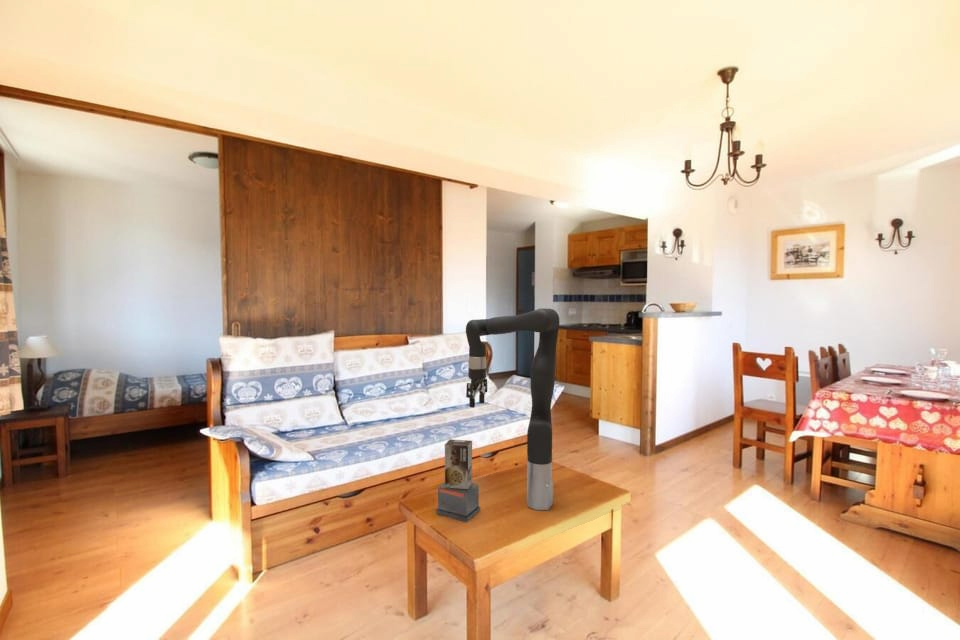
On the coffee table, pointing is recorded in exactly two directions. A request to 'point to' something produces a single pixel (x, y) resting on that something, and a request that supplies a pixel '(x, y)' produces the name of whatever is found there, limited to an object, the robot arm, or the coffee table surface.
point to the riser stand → (458, 502)
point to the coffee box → (458, 464)
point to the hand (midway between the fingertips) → (477, 405)
